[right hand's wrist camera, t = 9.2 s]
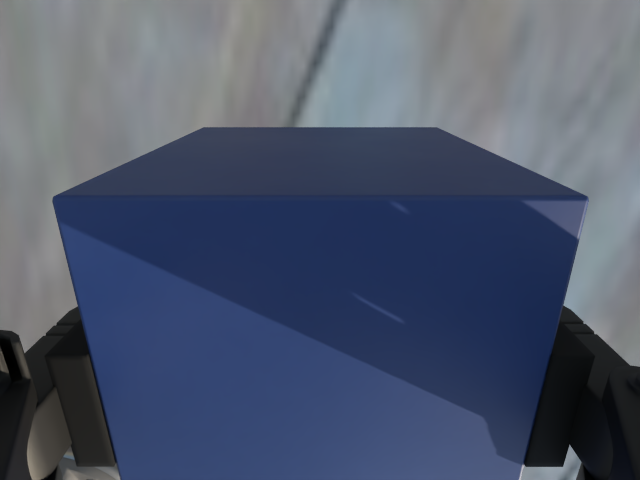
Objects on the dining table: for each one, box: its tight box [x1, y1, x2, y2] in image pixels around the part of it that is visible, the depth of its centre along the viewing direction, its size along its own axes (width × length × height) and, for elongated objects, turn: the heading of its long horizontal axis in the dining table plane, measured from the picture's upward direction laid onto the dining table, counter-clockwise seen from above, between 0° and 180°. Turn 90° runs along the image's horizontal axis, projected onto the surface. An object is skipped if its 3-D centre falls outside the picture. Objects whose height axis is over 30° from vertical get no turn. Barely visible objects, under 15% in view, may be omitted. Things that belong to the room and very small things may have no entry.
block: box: [53, 127, 589, 480], centre depth 12 cm, size 8×9×9 cm
